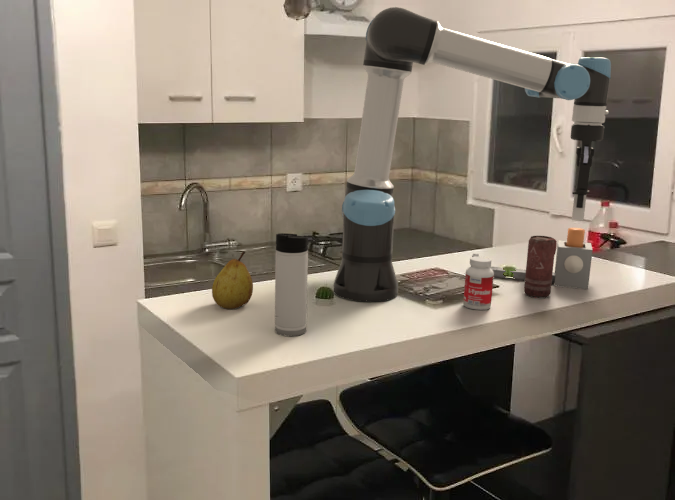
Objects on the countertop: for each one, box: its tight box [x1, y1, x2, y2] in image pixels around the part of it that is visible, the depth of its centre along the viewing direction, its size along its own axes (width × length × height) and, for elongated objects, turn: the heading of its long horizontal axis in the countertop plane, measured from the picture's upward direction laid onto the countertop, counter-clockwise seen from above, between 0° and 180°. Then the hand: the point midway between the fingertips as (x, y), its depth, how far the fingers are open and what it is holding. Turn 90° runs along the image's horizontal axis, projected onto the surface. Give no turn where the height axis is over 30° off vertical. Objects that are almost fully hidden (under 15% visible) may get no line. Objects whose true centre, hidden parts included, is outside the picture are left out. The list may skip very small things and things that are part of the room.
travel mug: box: [274, 232, 309, 337], centre depth 142 cm, size 6×7×20 cm
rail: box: [471, 253, 555, 284], centre depth 188 cm, size 21×3×5 cm, turn 75°
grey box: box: [553, 239, 593, 290], centre depth 184 cm, size 8×8×10 cm
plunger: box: [566, 227, 586, 248], centre depth 183 cm, size 4×4×6 cm
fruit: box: [211, 251, 254, 310], centre depth 158 cm, size 9×9×12 cm
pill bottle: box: [462, 256, 495, 311], centre depth 163 cm, size 6×6×11 cm
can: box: [523, 235, 558, 299], centre depth 173 cm, size 6×6×14 cm
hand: (577, 219), depth 181 cm, fingers closed
